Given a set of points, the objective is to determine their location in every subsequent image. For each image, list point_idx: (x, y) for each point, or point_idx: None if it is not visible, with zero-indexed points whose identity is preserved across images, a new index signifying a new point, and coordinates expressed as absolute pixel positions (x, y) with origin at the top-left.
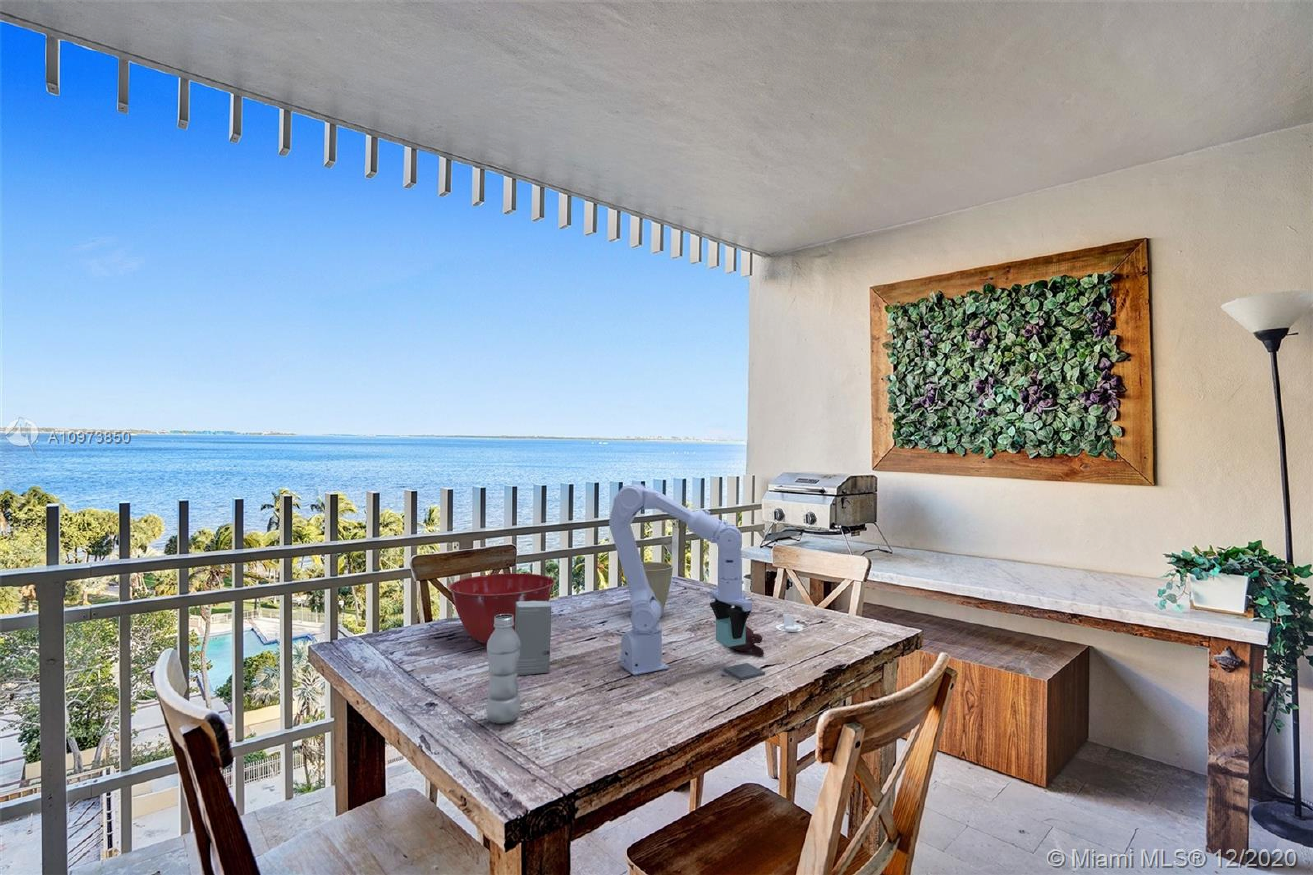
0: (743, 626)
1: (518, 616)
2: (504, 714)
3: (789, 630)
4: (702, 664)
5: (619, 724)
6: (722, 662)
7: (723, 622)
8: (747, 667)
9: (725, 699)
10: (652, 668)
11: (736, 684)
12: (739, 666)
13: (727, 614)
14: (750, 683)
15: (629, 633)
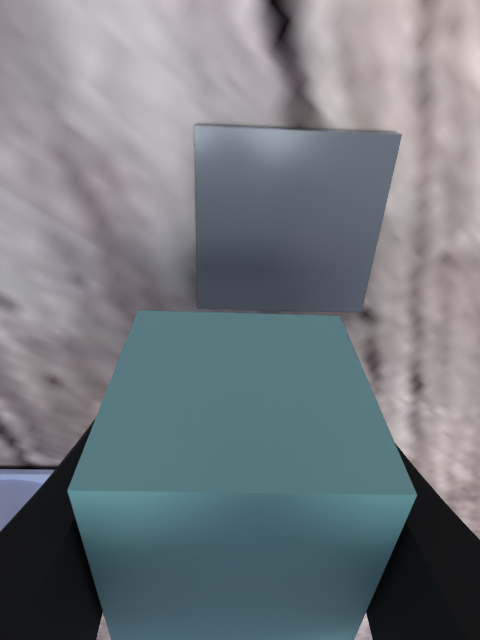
0: (445, 517)
1: None
2: None
3: None
4: (75, 340)
5: (366, 637)
6: (82, 233)
7: (240, 634)
8: (270, 187)
9: (451, 449)
10: None
11: (381, 349)
12: (228, 219)
13: (58, 610)
14: (419, 291)
15: None
